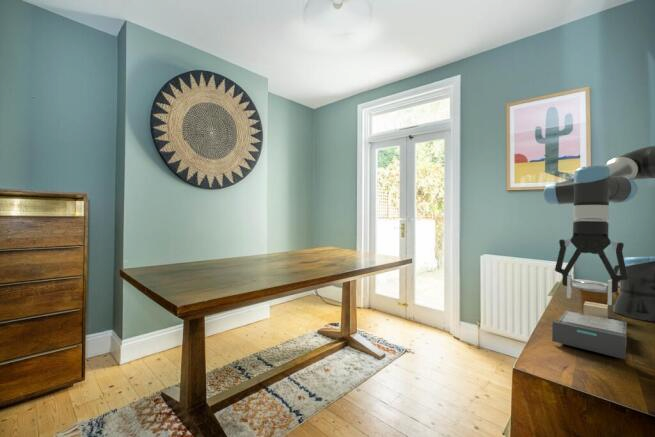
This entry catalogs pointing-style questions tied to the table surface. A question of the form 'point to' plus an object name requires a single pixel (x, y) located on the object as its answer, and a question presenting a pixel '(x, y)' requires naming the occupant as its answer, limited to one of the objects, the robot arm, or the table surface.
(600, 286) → the disc
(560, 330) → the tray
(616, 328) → the box
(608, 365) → the table surface
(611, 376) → the table surface
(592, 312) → the oak block
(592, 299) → the disposable coffee cup
